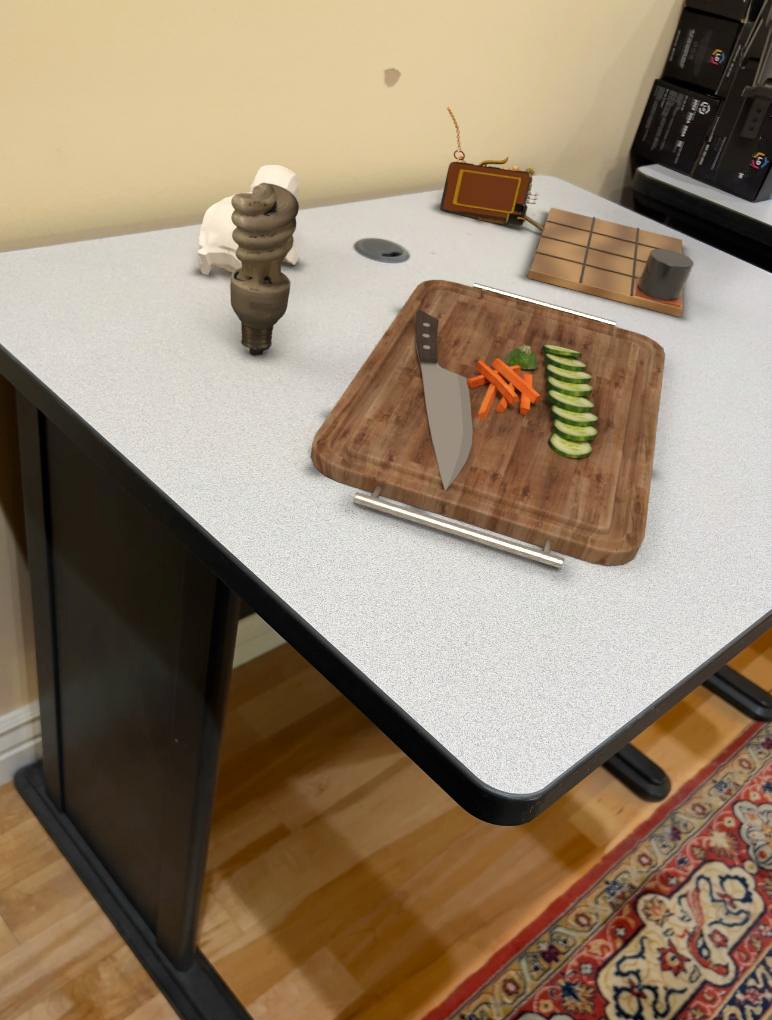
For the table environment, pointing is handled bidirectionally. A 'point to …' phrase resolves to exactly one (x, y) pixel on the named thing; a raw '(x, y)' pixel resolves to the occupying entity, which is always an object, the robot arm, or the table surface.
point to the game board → (600, 258)
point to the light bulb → (261, 261)
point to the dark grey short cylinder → (665, 274)
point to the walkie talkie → (488, 190)
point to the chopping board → (504, 423)
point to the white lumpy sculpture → (219, 226)
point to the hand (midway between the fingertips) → (727, 152)
